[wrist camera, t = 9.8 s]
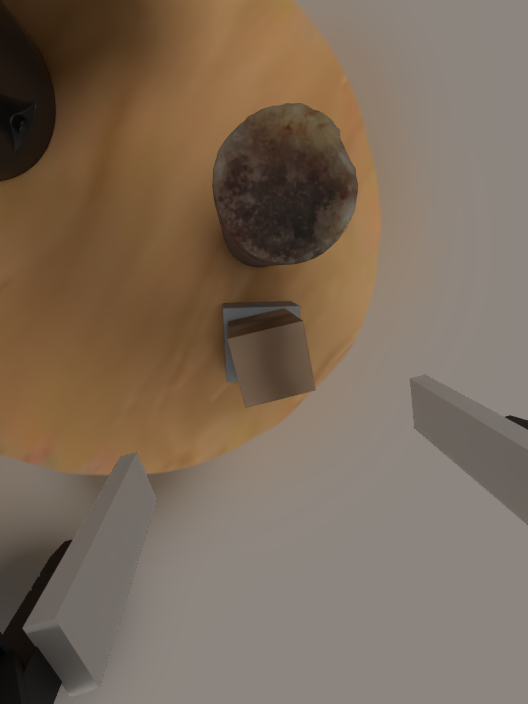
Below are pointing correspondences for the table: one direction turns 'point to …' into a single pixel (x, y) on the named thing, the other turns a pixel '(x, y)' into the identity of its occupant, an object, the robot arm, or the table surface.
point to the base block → (241, 311)
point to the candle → (283, 186)
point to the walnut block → (270, 356)
